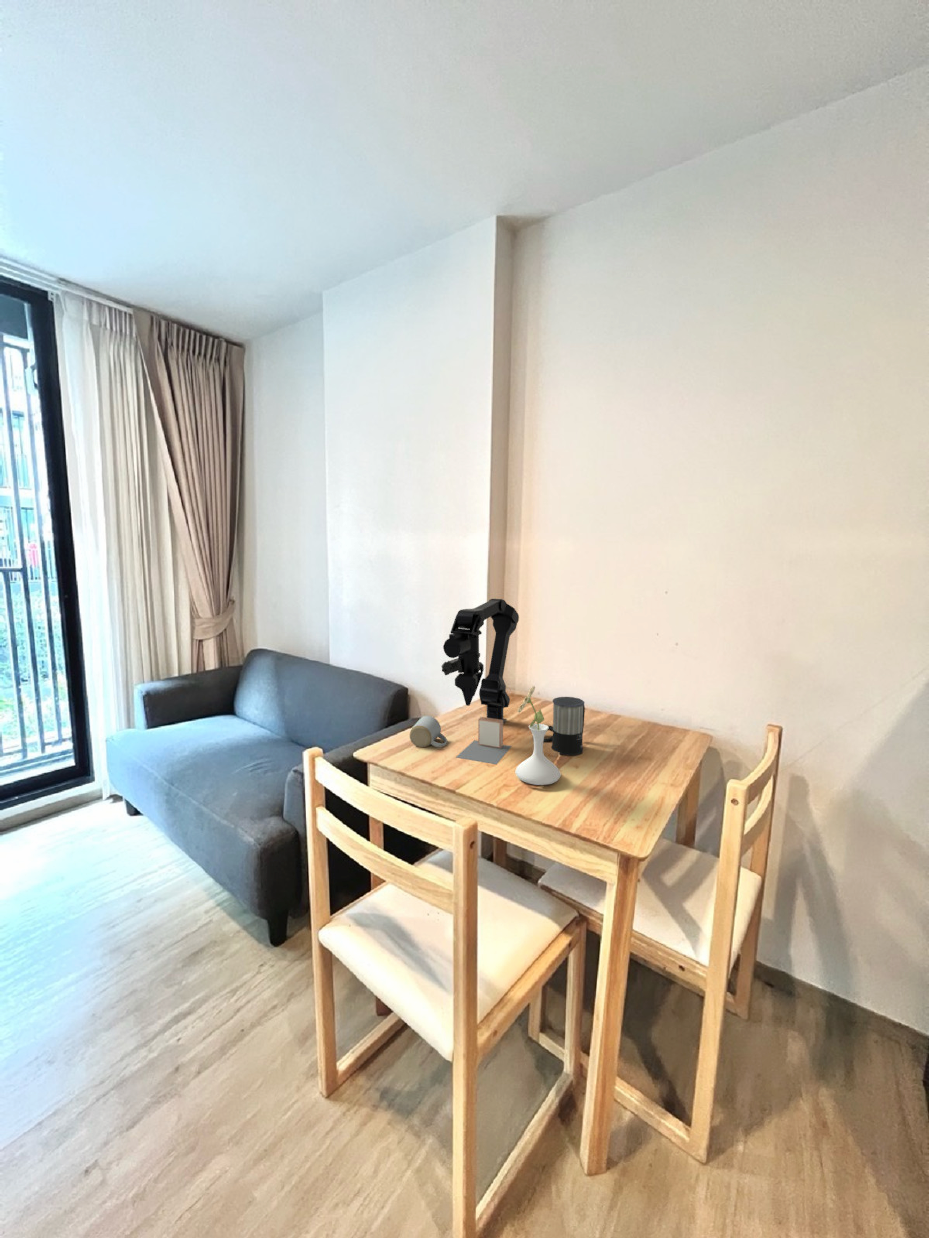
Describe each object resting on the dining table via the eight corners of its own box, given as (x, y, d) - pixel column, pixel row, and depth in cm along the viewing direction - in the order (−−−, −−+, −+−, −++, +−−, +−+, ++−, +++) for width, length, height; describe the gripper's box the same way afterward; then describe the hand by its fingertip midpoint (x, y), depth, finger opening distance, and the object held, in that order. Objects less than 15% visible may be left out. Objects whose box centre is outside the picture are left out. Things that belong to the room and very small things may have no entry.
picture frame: (480, 742, 148) (480, 716, 147) (502, 745, 145) (503, 719, 144) (478, 744, 146) (478, 719, 145) (500, 748, 143) (500, 722, 142)
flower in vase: (530, 765, 133) (532, 675, 130) (568, 777, 126) (571, 682, 122) (502, 782, 123) (503, 685, 120) (542, 797, 116) (544, 693, 112)
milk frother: (581, 758, 138) (583, 707, 136) (526, 751, 143) (527, 701, 141) (586, 740, 151) (587, 693, 149) (535, 734, 156) (536, 689, 154)
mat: (474, 741, 150) (474, 740, 150) (511, 747, 145) (511, 746, 145) (455, 758, 137) (455, 757, 137) (496, 766, 132) (496, 764, 132)
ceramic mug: (408, 747, 145) (408, 722, 144) (417, 737, 153) (418, 714, 152) (442, 752, 142) (442, 726, 141) (450, 741, 150) (450, 717, 149)
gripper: (449, 644, 159) (450, 690, 162) (437, 657, 141) (438, 709, 144) (483, 644, 157) (484, 691, 160) (475, 658, 139) (476, 711, 142)
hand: (470, 700), depth 151 cm, fingers open, 9 cm apart
